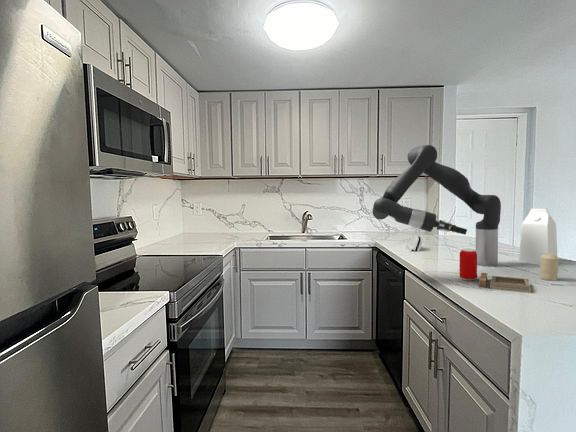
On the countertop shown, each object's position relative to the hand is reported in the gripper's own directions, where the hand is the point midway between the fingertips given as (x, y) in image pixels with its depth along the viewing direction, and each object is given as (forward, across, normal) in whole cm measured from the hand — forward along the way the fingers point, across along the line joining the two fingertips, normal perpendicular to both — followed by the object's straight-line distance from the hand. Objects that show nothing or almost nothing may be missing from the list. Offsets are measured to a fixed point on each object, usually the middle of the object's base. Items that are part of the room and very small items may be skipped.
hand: (463, 231), depth 135 cm
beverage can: (+8, +3, +18) cm, 20 cm away
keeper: (+19, -6, +15) cm, 25 cm away
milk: (+45, +43, +4) cm, 62 cm away
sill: (+12, -2, +17) cm, 21 cm away
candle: (+36, +8, +9) cm, 38 cm away
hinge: (-7, +77, +18) cm, 79 cm away
